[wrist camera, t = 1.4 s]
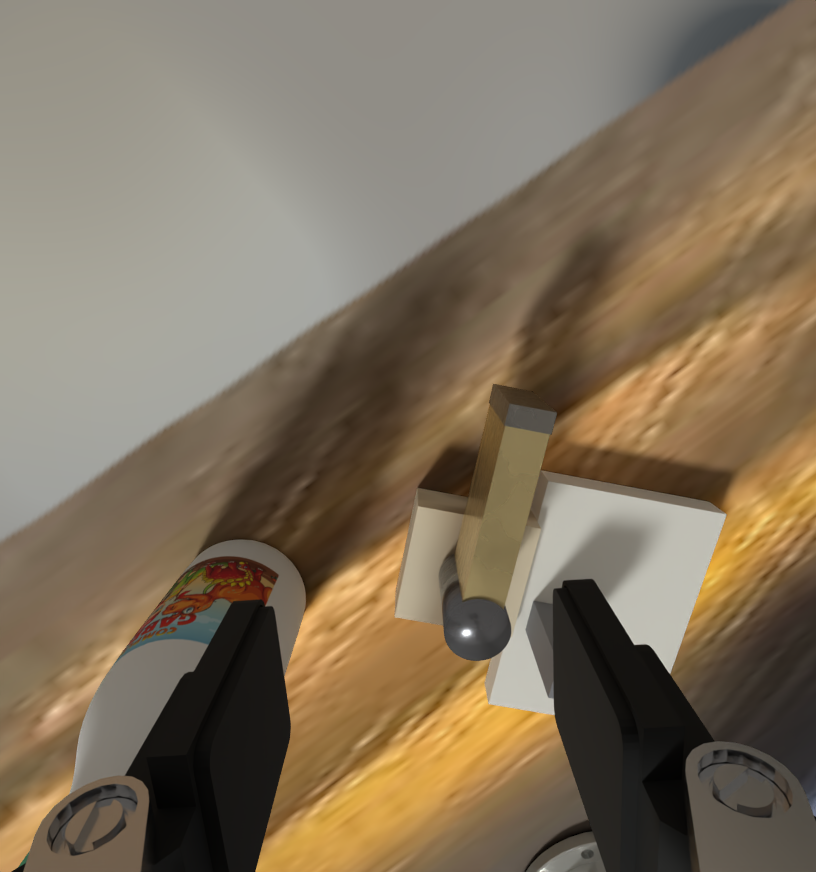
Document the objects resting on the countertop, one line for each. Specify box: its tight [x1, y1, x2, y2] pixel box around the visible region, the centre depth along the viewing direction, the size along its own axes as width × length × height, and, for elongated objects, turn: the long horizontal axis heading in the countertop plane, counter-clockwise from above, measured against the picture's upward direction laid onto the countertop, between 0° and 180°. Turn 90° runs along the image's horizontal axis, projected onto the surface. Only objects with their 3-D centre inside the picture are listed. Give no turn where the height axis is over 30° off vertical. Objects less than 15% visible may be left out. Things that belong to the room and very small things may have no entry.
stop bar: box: [439, 384, 557, 661], centre depth 29 cm, size 13×3×5 cm, turn 169°
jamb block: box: [395, 488, 541, 637], centre depth 35 cm, size 7×7×3 cm
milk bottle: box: [19, 539, 306, 867], centre depth 27 cm, size 8×8×20 cm
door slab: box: [485, 470, 727, 715], centre depth 33 cm, size 10×15×8 cm
